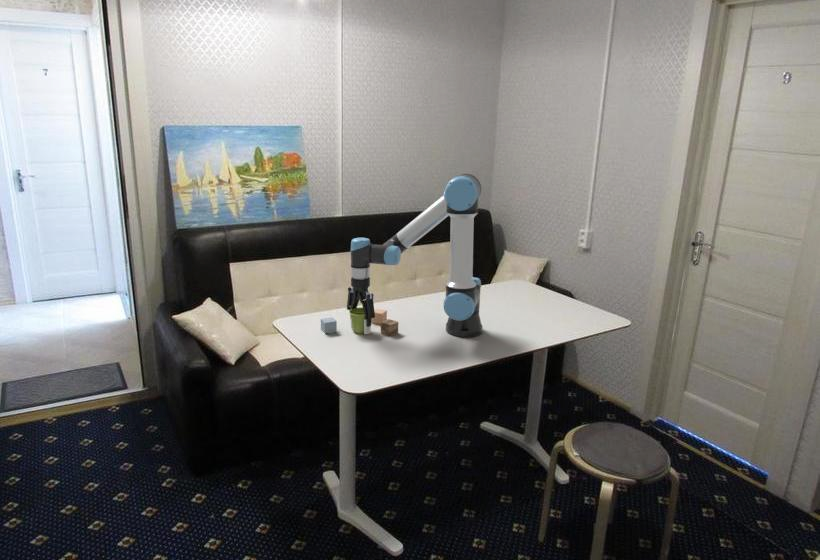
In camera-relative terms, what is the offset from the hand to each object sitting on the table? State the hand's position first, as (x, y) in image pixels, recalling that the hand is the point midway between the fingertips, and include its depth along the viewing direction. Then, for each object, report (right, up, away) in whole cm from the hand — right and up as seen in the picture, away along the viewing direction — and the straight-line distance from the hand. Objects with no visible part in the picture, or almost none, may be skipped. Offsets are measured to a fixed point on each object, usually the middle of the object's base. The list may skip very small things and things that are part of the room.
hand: (360, 330), depth 238 cm
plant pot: (0, -1, 0) cm, 1 cm away
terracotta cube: (+7, +2, +11) cm, 14 cm away
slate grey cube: (-13, 0, -1) cm, 13 cm away
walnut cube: (+12, -1, -1) cm, 12 cm away
